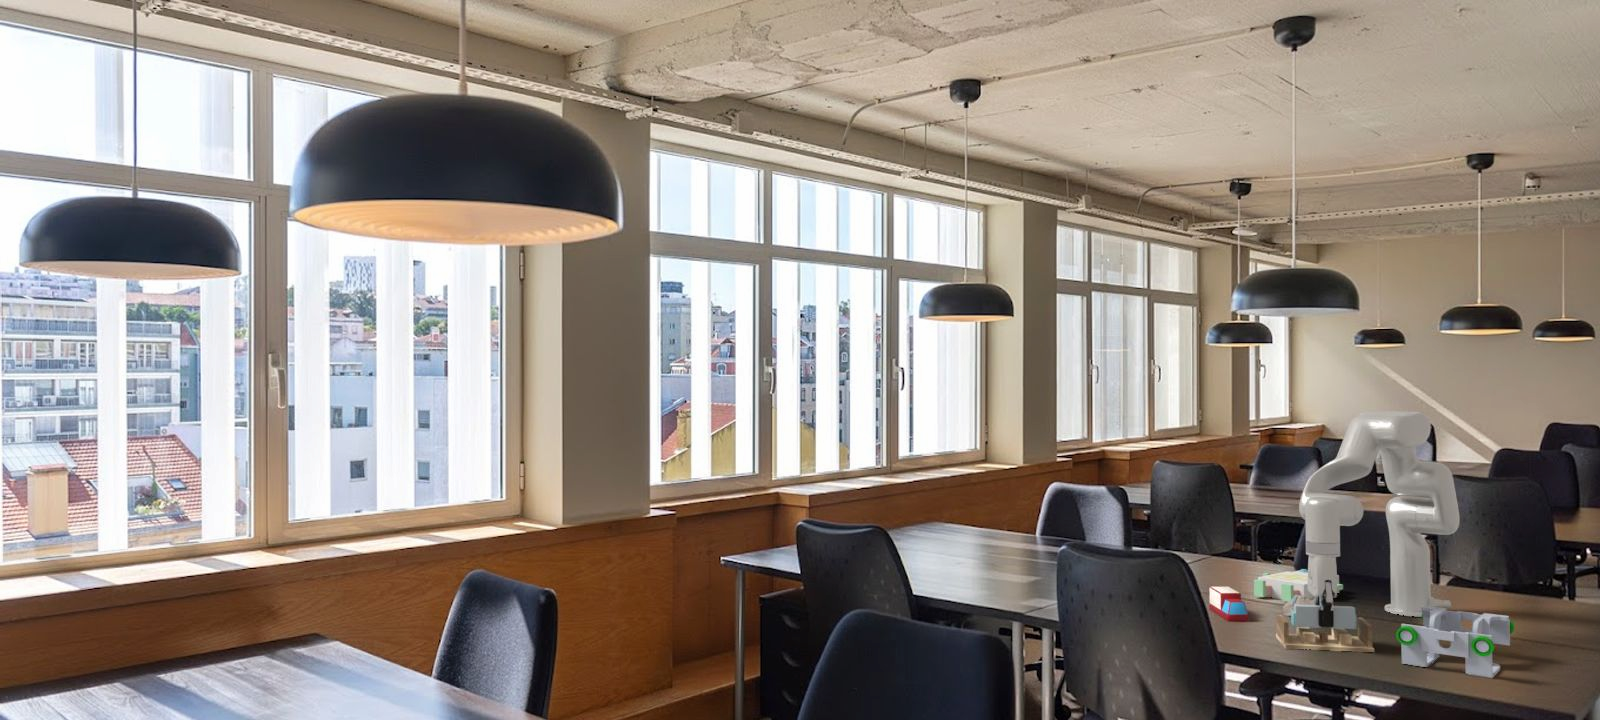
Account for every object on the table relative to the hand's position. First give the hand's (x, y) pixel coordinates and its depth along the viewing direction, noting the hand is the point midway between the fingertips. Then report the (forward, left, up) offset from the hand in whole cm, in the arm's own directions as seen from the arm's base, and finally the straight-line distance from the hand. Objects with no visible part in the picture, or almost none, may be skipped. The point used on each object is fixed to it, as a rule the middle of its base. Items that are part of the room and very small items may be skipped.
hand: (1324, 623), depth 266 cm
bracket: (-26, +10, -5) cm, 28 cm away
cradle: (0, 0, -5) cm, 5 cm away
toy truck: (+18, -30, -6) cm, 35 cm away
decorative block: (-6, -61, -6) cm, 61 cm away
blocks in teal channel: (0, +1, -1) cm, 1 cm away
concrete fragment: (-3, -29, -6) cm, 30 cm away
